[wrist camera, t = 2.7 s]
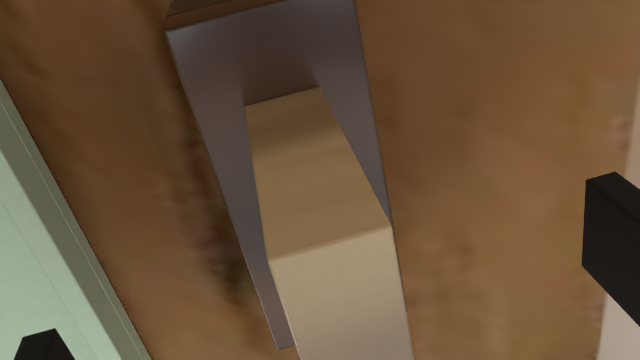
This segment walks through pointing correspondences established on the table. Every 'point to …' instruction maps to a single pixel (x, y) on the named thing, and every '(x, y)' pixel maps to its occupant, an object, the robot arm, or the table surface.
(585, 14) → the table surface
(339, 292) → the chalkboard eraser
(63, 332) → the tray
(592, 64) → the table surface
